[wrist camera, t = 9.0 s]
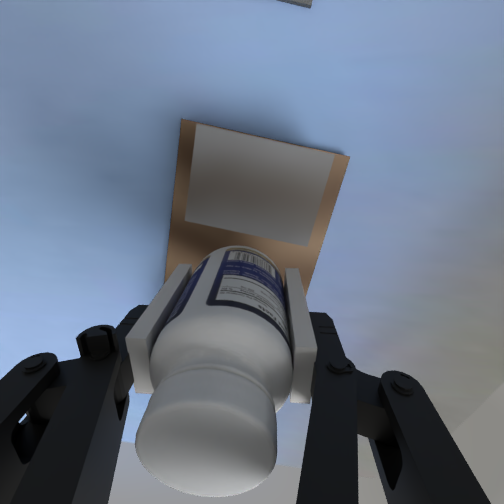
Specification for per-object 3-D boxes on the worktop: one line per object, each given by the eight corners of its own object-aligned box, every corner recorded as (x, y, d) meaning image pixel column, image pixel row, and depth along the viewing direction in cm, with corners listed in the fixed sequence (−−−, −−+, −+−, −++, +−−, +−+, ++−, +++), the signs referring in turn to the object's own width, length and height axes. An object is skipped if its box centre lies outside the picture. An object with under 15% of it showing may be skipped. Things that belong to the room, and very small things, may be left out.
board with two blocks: (186, 120, 20) (146, 106, 13) (345, 156, 20) (385, 160, 14) (163, 323, 26) (129, 383, 20) (285, 347, 27) (292, 414, 20)
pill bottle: (218, 332, 18) (168, 524, 9) (178, 262, 16) (66, 414, 7) (296, 306, 17) (329, 495, 8) (262, 229, 15) (254, 356, 6)
